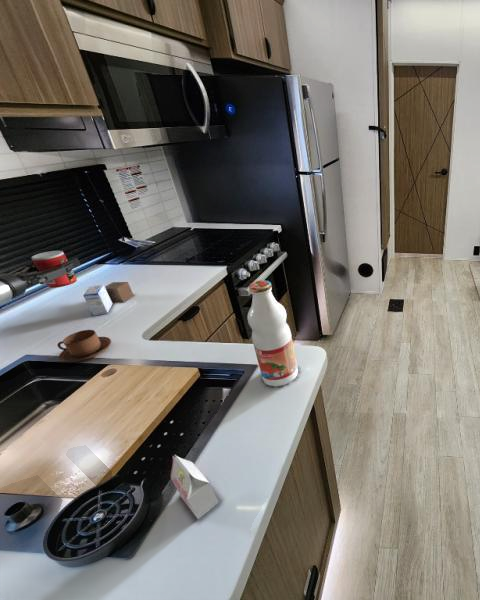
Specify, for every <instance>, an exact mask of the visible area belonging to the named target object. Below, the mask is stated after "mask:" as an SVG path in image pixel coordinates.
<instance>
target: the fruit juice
mask: <svg viewBox="0 0 480 600" xmlns="http://www.w3.org/2000/svg"><path fill="white" fill-rule="evenodd" d="M272 289H273V285H272V283H271V281H269V280H266V279H261V280H256V281H252V282H251V283H250V284H249V286H248V290H249V292H250V294H251V295H252V301H251V306H250V308H249V310H248V312H247V316H246V317H247V323H248V325H249V327H250V328H251V330H252V331H251V340H252V345H253V348H254V352H255V356H256V359H257V363H258V368H259V371H260V374H261V378H262V381H263V382H264V383H265V384H266V385H267V386H270V387H281V386H285V385H288V384H290V383H291V382H293V381H294V380H295V379H296V377H297V376H298V373H299V366H298V361H297V357H296V352H295V346H294V342H293V337H292V336H293V335H292V331H291V327H290V325H289V324H288V323H287V318H288V317H287V310H286V308H285V307H284V305H282V304H281V303H280V302H278V301H277V300H276V297H275V296H274V294H273V292H272Z"/></svg>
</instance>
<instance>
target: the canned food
mask: <svg viewBox="0 0 480 600" xmlns="http://www.w3.org/2000/svg"><path fill="white" fill-rule="evenodd" d="M31 260H32V262H33V263H34V264H33V265H36V267H37V269H38V271H39V272H40V271H44V270H47V269H50V268H54V267H57V266H60V264H62V263H64V262H67V261H69V260H68V258H67V256H66V254H65V253H64V251H63V250H51V251H45V252H40V253H37V254H35V255H33V256H31ZM70 271H71V273H69V274H66V275H64V276H61V277H59V278H56V279H53V280H51V281H48V282H47V283H45V285H46V286H47V287H48V288H52V289H57V288H62V287H67V286H71V285H73V284H75V283H76V282H77V281H78V278H77V276H76V274H75V272H74V270H73V269H71V270H70Z"/></svg>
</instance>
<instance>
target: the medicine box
mask: <svg viewBox="0 0 480 600" xmlns="http://www.w3.org/2000/svg"><path fill="white" fill-rule="evenodd" d="M83 298H84V301H85V302H86V304H87V305H88V307H89V310H90V312H91V314H92V315H93V316H100V315H105V314H108V313H109V312H110V310H111V307H112V305H113V302H112V301H111V299H110V297H109V295H108V293H107V290H106V288H105V285H104V284H98V285H91V286H89V287H88V288H87V289H86V291H85V292H84V294H83Z"/></svg>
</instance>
